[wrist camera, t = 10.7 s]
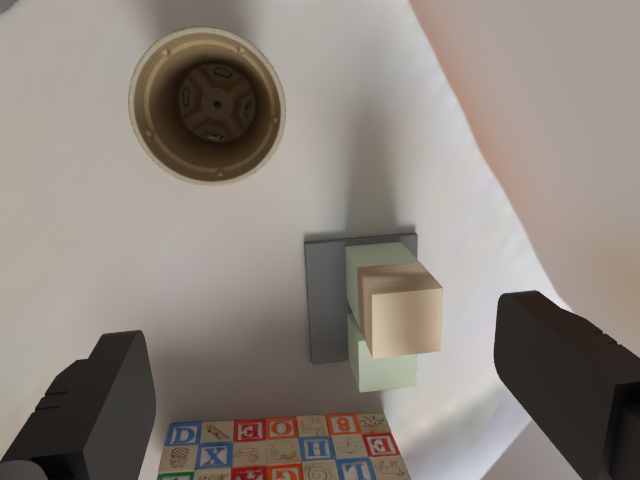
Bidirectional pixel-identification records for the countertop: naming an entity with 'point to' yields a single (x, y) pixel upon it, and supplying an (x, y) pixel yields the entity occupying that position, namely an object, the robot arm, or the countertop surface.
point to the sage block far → (377, 364)
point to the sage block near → (371, 264)
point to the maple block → (399, 309)
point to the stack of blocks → (284, 449)
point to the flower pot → (206, 106)
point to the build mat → (335, 293)
